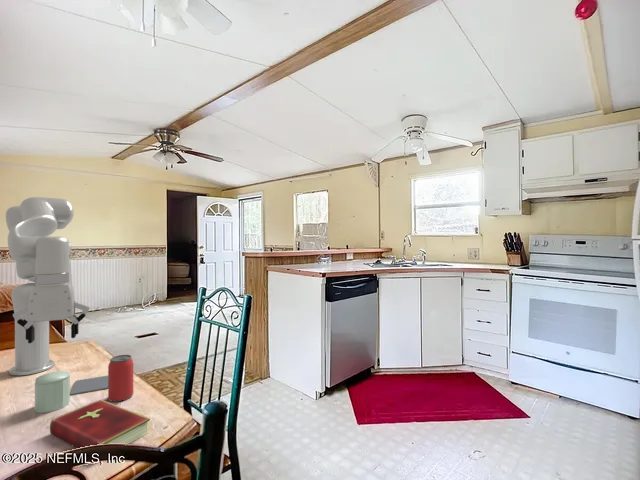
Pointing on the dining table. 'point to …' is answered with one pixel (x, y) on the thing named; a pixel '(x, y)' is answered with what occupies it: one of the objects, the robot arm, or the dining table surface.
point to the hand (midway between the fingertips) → (53, 339)
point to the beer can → (120, 378)
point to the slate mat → (90, 385)
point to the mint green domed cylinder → (52, 391)
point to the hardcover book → (99, 425)
